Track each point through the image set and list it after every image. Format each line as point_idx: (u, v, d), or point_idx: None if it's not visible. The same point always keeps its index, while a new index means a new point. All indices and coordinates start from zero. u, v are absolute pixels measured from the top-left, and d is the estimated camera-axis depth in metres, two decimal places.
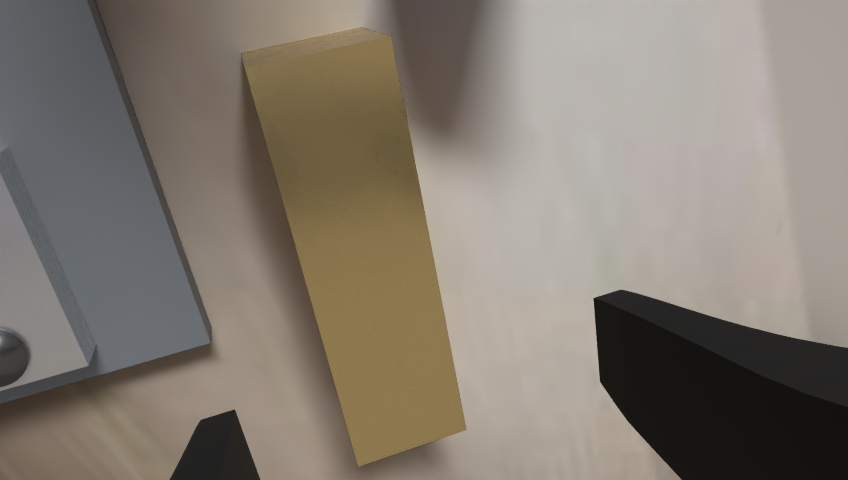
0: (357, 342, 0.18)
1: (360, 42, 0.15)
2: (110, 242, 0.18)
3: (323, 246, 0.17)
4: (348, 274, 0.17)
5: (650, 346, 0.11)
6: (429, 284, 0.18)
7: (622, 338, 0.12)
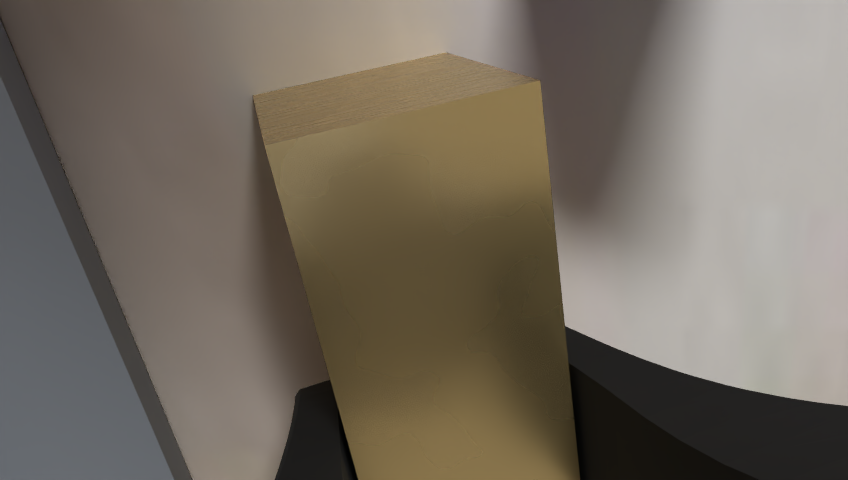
0: None
1: (483, 93, 0.08)
2: (33, 410, 0.11)
3: (398, 444, 0.10)
4: None
5: None
6: None
7: None
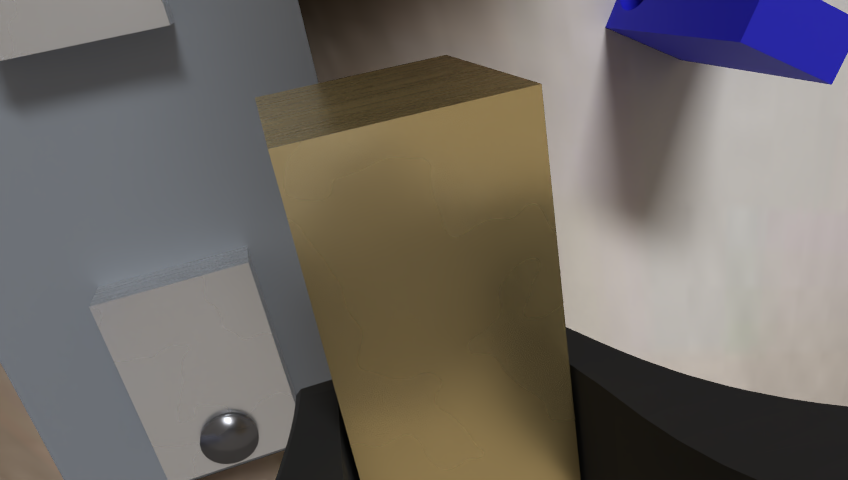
0: None
1: (485, 96, 0.08)
2: None
3: (400, 446, 0.10)
4: None
5: None
6: None
7: None
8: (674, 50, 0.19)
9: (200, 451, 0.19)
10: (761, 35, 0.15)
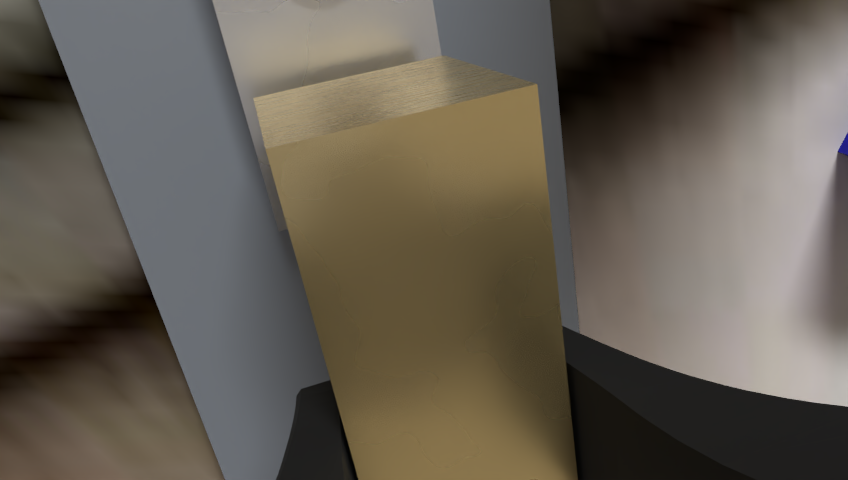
0: None
1: (481, 96, 0.08)
2: None
3: (397, 444, 0.10)
4: None
5: None
6: None
7: None
8: None
9: None
10: None
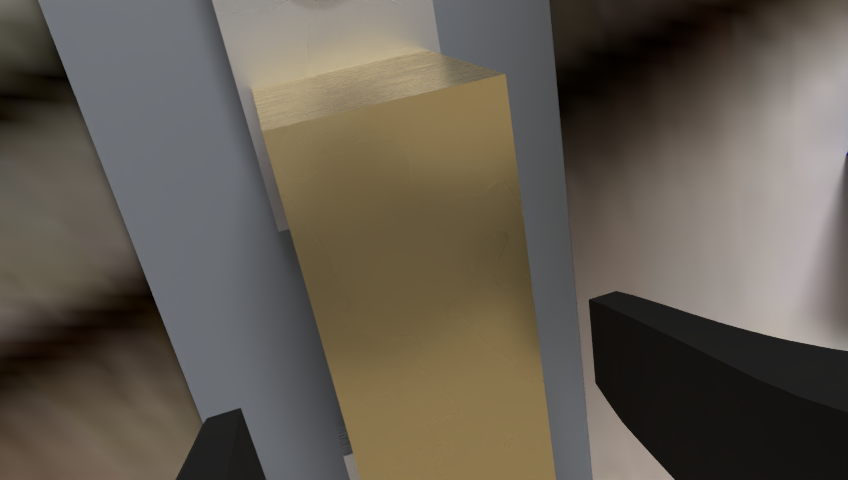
0: None
1: (455, 85, 0.09)
2: None
3: (383, 402, 0.11)
4: (419, 439, 0.11)
5: (644, 348, 0.11)
6: (538, 444, 0.12)
7: (617, 340, 0.12)
8: None
9: None
10: None
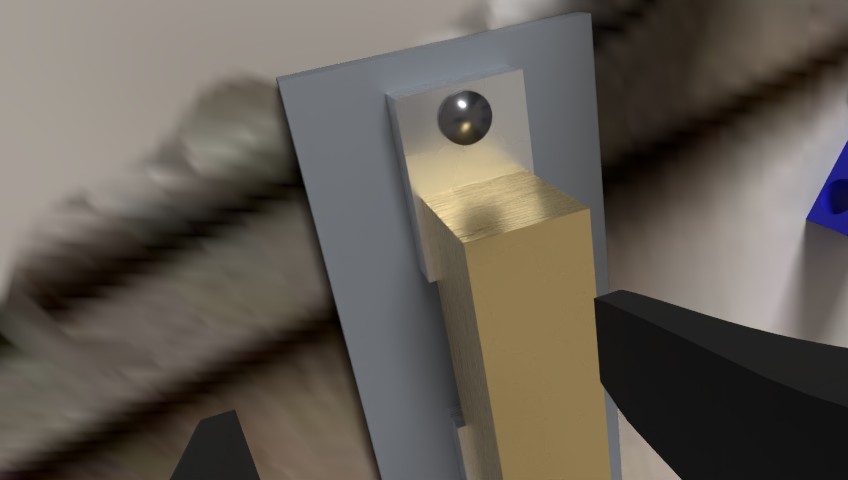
0: (531, 469, 0.20)
1: (562, 215, 0.17)
2: None
3: (512, 389, 0.18)
4: (530, 411, 0.19)
5: (650, 346, 0.11)
6: (598, 415, 0.20)
7: (622, 338, 0.12)
8: None
9: None
10: None
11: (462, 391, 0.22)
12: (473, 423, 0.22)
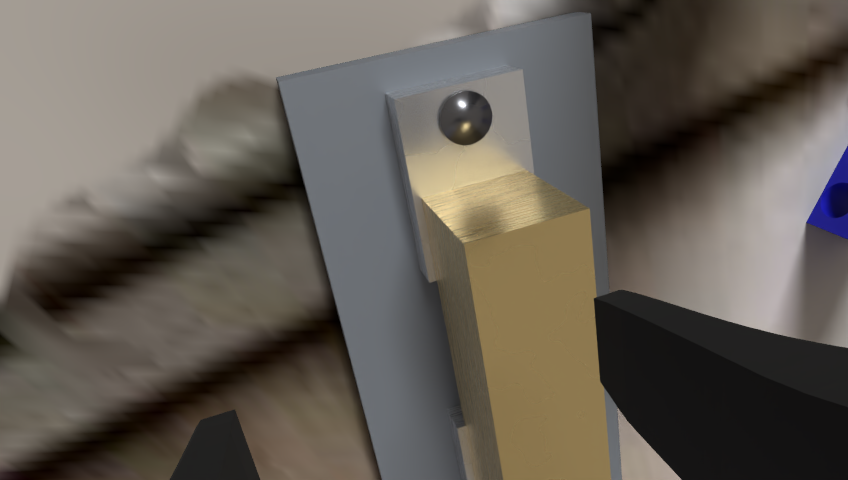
0: (531, 469, 0.20)
1: (562, 215, 0.17)
2: None
3: (512, 389, 0.18)
4: (530, 411, 0.19)
5: (650, 346, 0.11)
6: (598, 415, 0.20)
7: (622, 338, 0.12)
8: None
9: None
10: None
11: (462, 391, 0.22)
12: (473, 423, 0.22)
